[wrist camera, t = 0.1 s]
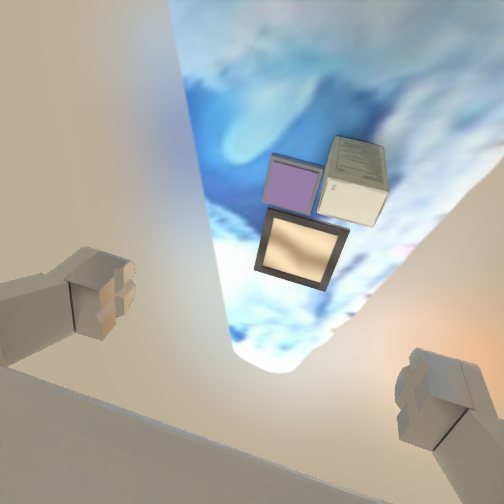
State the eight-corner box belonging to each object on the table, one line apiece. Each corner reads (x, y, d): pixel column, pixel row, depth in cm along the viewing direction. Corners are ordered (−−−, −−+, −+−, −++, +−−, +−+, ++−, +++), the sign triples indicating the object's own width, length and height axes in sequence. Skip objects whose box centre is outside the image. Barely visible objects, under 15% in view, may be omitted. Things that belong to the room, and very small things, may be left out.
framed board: (268, 206, 53) (267, 208, 53) (349, 229, 52) (349, 231, 52) (254, 267, 61) (253, 270, 60) (325, 288, 60) (325, 291, 59)
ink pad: (272, 152, 49) (270, 157, 47) (324, 166, 48) (323, 171, 47) (263, 198, 53) (260, 203, 52) (310, 211, 52) (309, 217, 51)
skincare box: (325, 166, 48) (312, 213, 38) (335, 133, 45) (324, 175, 36) (374, 179, 47) (373, 230, 38) (387, 147, 44) (390, 193, 35)
